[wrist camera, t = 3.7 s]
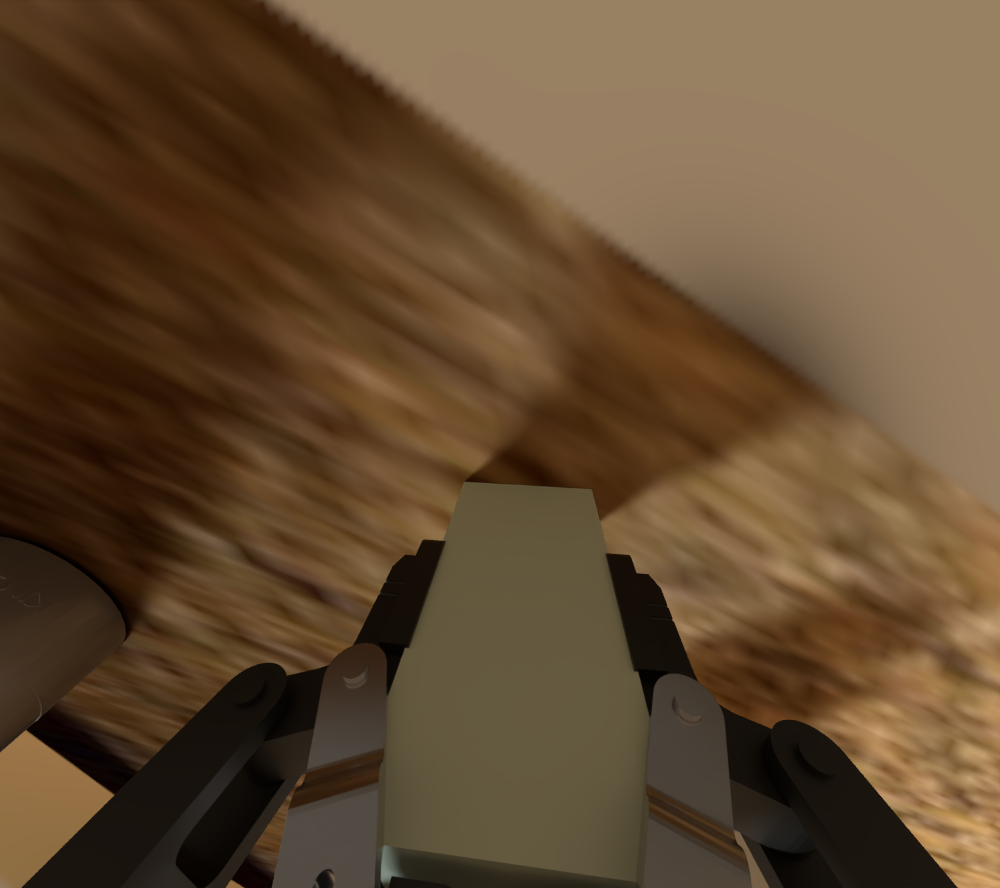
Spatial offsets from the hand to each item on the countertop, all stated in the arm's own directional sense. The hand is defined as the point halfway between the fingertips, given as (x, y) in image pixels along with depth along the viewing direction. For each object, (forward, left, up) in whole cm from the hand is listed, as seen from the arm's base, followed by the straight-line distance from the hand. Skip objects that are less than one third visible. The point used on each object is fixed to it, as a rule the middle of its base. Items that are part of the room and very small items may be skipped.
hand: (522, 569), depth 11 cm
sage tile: (0, 0, -3) cm, 3 cm away
